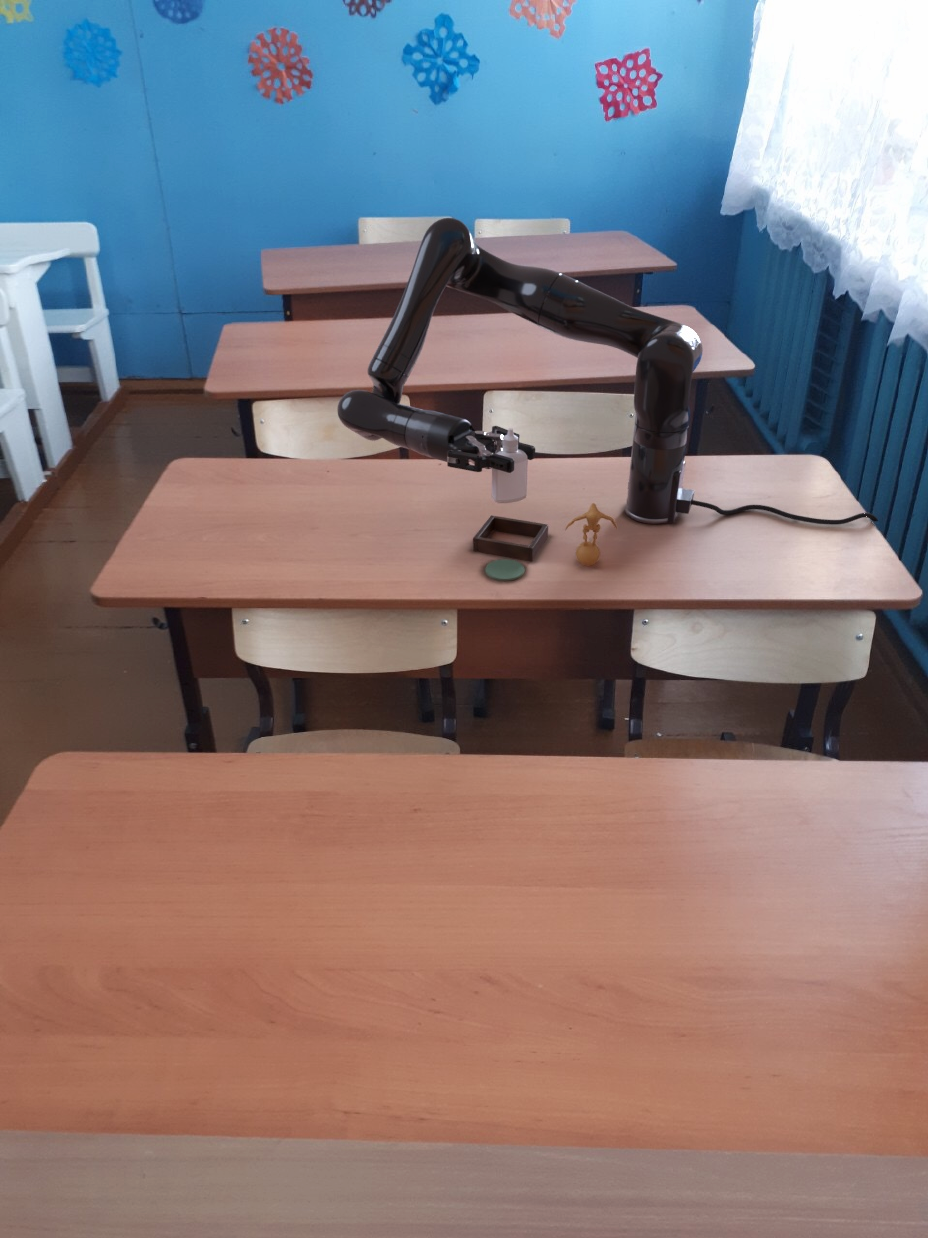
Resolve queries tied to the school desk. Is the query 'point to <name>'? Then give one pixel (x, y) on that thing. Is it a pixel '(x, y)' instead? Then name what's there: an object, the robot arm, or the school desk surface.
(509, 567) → the coaster
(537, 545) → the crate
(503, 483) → the eye dropper bottle
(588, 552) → the figurine
